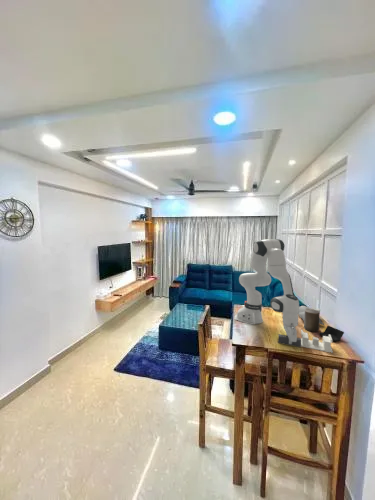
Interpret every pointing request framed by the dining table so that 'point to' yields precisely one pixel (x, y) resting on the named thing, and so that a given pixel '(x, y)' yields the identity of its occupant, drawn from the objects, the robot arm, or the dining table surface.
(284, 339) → the tall charcoal prism
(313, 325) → the pillar candle
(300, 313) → the sculpture
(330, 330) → the handheld gaming console
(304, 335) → the display stand
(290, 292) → the robot arm
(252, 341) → the dining table surface
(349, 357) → the dining table surface
